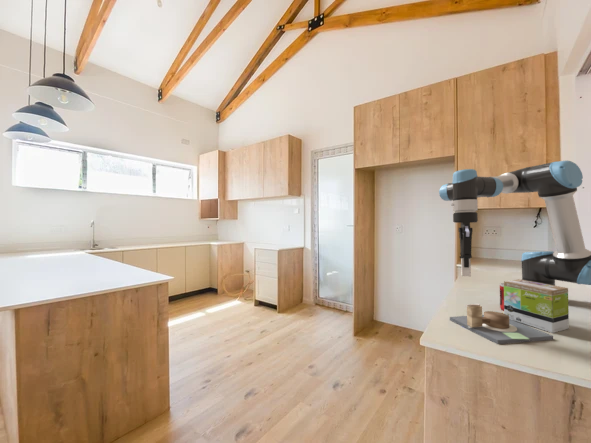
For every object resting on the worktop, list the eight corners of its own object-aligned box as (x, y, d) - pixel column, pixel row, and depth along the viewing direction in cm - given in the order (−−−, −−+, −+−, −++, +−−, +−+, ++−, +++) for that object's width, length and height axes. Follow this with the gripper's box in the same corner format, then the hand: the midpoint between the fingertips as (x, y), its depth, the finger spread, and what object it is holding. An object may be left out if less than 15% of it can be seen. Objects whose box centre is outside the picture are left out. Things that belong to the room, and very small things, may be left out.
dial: (496, 320, 93) (495, 299, 93) (515, 327, 86) (514, 305, 86) (459, 322, 91) (458, 301, 91) (475, 330, 84) (474, 308, 84)
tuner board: (495, 317, 100) (495, 313, 100) (556, 340, 80) (556, 336, 80) (448, 320, 98) (448, 316, 98) (498, 345, 77) (498, 341, 77)
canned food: (529, 314, 103) (529, 287, 103) (507, 313, 104) (506, 286, 104) (517, 308, 110) (516, 283, 110) (496, 307, 112) (495, 282, 112)
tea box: (503, 318, 99) (502, 280, 99) (519, 315, 102) (518, 278, 103) (553, 334, 85) (552, 289, 85) (570, 329, 88) (569, 286, 88)
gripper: (451, 212, 101) (452, 272, 101) (454, 211, 90) (455, 278, 89) (474, 212, 98) (475, 273, 97) (480, 210, 86) (481, 280, 86)
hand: (466, 275), depth 93 cm, fingers closed
